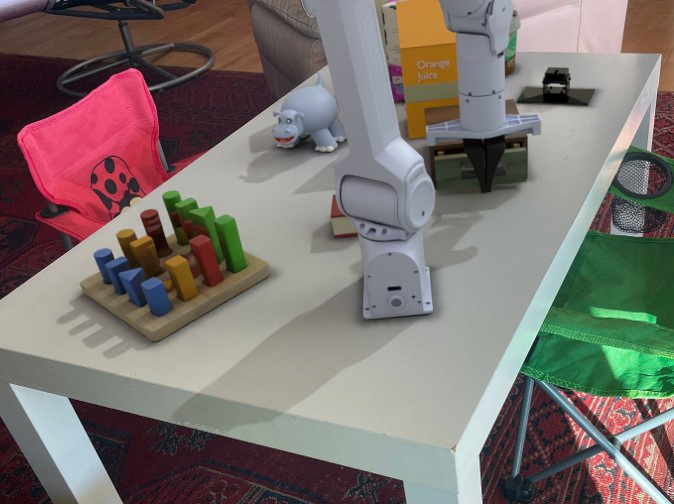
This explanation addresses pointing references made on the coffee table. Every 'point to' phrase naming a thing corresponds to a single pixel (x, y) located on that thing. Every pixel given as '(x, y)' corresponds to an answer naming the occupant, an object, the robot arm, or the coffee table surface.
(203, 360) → the coffee table surface
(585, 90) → the build plate
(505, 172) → the drawer
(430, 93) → the orange juice
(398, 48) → the candy bar box
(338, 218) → the book
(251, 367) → the coffee table surface
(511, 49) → the food container
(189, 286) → the peg board
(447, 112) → the cabinet
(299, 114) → the hippopotamus toy
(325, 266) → the coffee table surface
